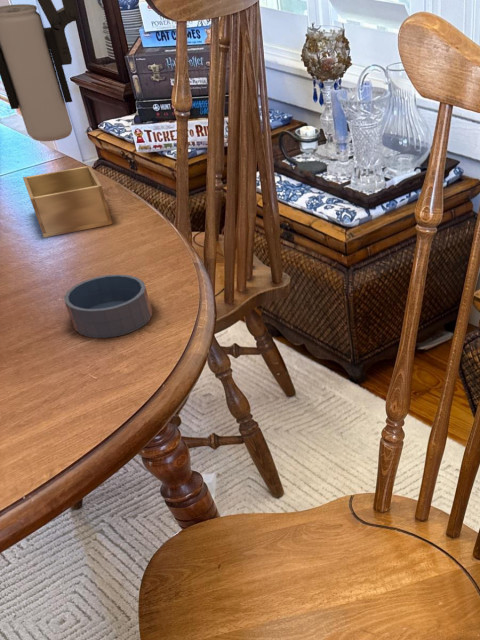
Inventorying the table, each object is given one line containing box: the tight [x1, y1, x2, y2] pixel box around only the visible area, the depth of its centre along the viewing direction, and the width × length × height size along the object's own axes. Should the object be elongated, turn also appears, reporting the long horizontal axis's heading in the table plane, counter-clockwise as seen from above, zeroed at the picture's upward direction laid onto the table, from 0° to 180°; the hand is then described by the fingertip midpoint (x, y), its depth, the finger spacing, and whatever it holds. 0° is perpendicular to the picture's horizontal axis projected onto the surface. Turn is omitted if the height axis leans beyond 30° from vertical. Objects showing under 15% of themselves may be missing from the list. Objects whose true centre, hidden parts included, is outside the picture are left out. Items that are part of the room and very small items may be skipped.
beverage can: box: [0, 3, 73, 142], centre depth 83 cm, size 5×5×12 cm
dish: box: [63, 274, 153, 339], centre depth 94 cm, size 9×9×4 cm
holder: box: [22, 165, 113, 238], centre depth 117 cm, size 10×10×6 cm
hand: (41, 101), depth 85 cm, fingers closed on beverage can, 5 cm apart
